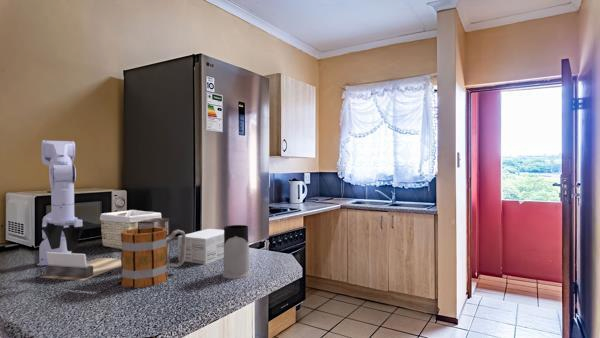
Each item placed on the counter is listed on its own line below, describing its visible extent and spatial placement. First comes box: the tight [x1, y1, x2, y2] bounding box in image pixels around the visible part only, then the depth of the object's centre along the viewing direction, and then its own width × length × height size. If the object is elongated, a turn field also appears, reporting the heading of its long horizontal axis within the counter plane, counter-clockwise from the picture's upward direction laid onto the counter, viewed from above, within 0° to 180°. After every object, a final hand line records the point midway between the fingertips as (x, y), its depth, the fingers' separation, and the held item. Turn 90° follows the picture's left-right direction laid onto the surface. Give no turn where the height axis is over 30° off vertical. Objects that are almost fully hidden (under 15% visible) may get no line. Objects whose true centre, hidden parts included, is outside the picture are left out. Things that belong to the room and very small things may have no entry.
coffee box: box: [138, 217, 171, 263], centre depth 122 cm, size 9×6×16 cm
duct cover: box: [46, 252, 88, 268], centre depth 108 cm, size 14×4×1 cm
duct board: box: [40, 257, 122, 281], centre depth 118 cm, size 16×24×4 cm, turn 167°
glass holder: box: [222, 224, 252, 280], centre depth 113 cm, size 9×14×15 cm, turn 9°
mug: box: [120, 227, 186, 289], centre depth 108 cm, size 20×14×15 cm
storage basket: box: [99, 209, 162, 250], centre depth 155 cm, size 24×16×15 cm
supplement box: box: [177, 228, 224, 265], centre depth 134 cm, size 17×13×9 cm
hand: (63, 249), depth 106 cm, fingers open, 7 cm apart
